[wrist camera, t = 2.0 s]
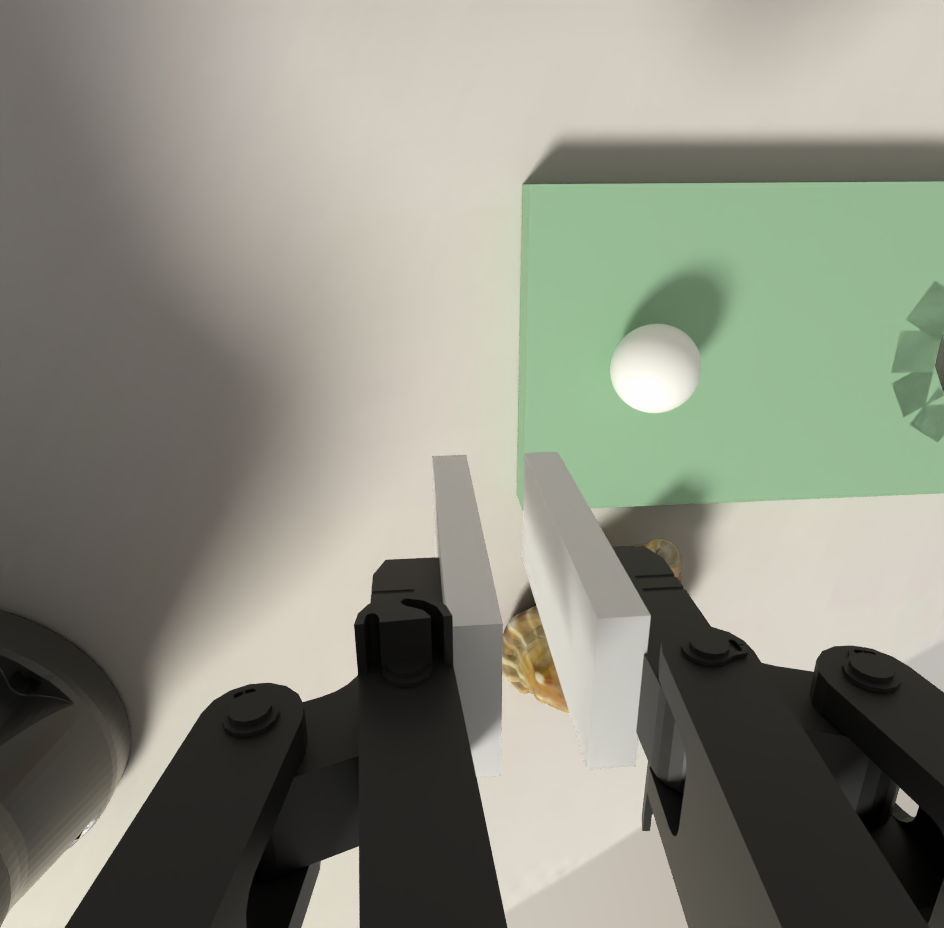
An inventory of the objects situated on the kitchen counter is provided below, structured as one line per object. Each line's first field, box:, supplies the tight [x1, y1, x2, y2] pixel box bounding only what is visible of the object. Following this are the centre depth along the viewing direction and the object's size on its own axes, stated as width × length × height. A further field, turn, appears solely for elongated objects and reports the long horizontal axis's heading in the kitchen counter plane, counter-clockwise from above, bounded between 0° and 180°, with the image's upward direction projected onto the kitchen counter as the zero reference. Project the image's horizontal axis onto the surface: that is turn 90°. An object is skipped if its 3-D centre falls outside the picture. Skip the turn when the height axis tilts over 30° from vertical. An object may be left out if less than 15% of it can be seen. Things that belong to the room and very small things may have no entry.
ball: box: [610, 324, 702, 413], centre depth 28 cm, size 4×4×4 cm
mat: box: [517, 181, 944, 510], centre depth 32 cm, size 28×14×2 cm, turn 90°
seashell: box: [502, 538, 682, 713], centre depth 34 cm, size 9×8×10 cm
